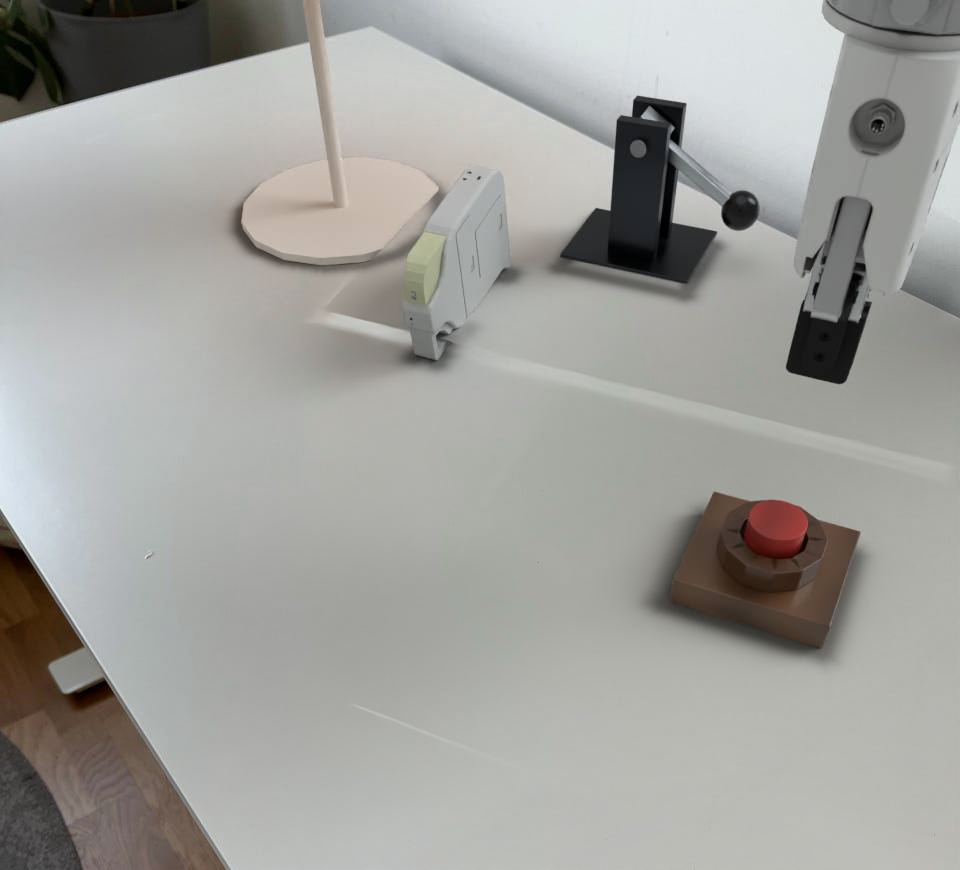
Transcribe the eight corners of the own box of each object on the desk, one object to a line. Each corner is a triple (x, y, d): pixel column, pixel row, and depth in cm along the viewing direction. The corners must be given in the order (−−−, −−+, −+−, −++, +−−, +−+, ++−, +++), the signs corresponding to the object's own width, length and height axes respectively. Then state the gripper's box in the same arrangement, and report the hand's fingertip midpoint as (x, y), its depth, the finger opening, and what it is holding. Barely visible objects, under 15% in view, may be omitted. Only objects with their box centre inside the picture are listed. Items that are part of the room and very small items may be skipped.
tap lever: (747, 227, 86) (771, 200, 84) (737, 245, 85) (761, 218, 82) (632, 129, 85) (654, 98, 82) (620, 145, 83) (641, 114, 80)
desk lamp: (295, 333, 85) (204, -105, 61) (141, 207, 100) (18, -185, 76) (552, 215, 96) (561, -196, 72) (378, 118, 111) (337, -250, 87)
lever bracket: (715, 244, 92) (738, 99, 82) (685, 294, 87) (706, 146, 77) (594, 220, 95) (603, 79, 85) (559, 266, 90) (564, 122, 80)
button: (807, 528, 63) (814, 508, 62) (794, 566, 61) (800, 546, 60) (752, 513, 64) (757, 493, 63) (737, 550, 62) (742, 530, 61)
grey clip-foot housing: (412, 376, 84) (485, 266, 91) (442, 383, 83) (512, 272, 90) (390, 266, 75) (472, 152, 81) (423, 273, 74) (503, 158, 80)
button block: (852, 554, 67) (868, 511, 63) (822, 649, 62) (837, 608, 58) (709, 513, 69) (717, 470, 66) (668, 602, 64) (676, 559, 61)
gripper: (1007, 59, 33) (860, 474, 47) (1051, -75, 41) (914, 312, 56) (785, 30, 35) (708, 435, 49) (869, -92, 44) (783, 285, 58)
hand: (817, 369), depth 53 cm, fingers closed
